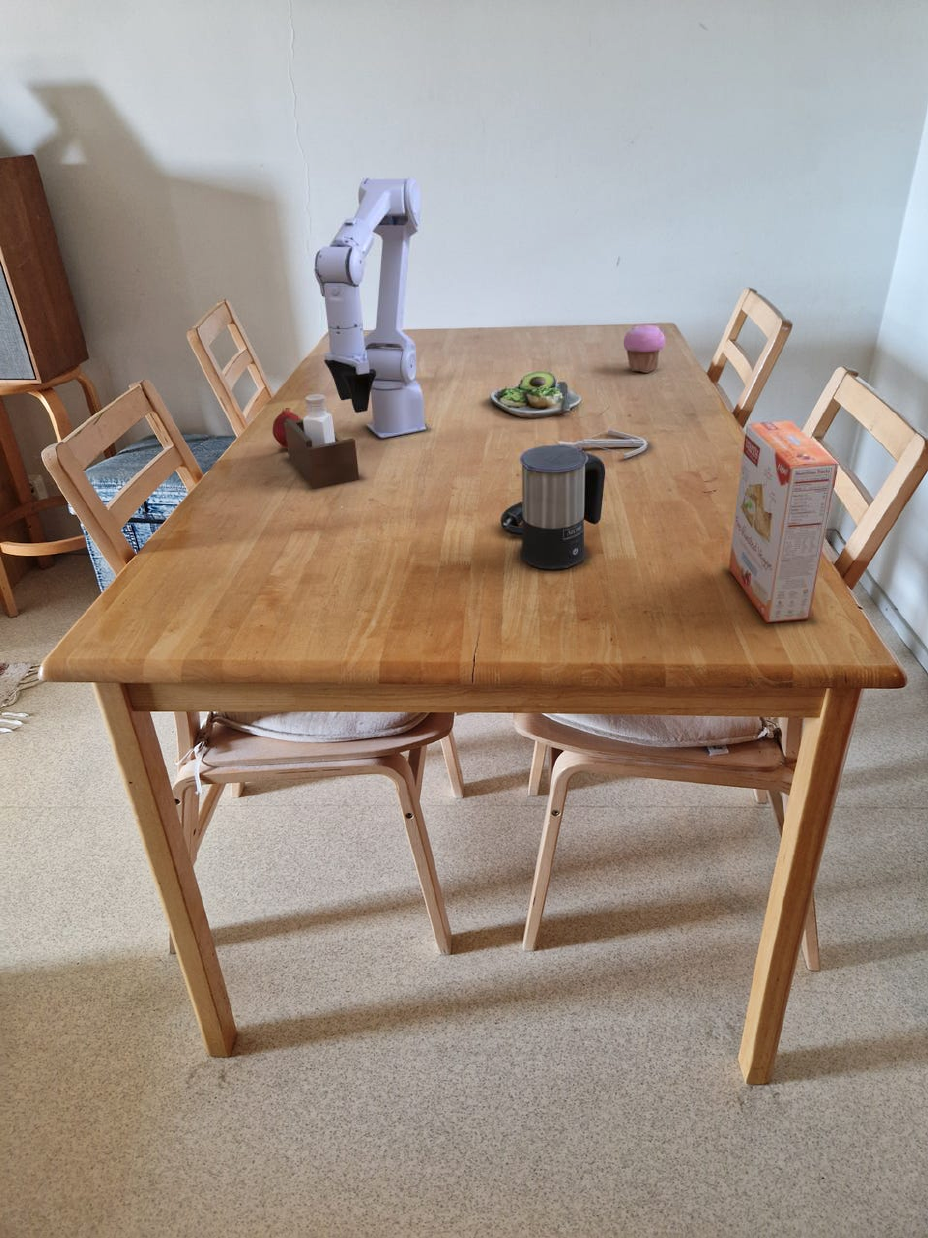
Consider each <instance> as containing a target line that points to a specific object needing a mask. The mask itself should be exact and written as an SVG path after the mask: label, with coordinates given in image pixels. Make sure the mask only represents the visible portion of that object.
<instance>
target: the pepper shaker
mask: <svg viewBox="0 0 928 1238" xmlns="http://www.w3.org/2000/svg"><path fill="white" fill-rule="evenodd" d="M305 405H306V410H307V414H306V415H305V416H304V417H303V418H302V419H303V424H304V431H305V434H306V435H307V436H308V437H309V438H310V439H311V440H312V446H316V445H321V444H326V443H331V442H335V437H334V432H335V430H334V429H335V428H334V420H333V415H332V414H331V413H329V412H327V409H326V408H327V404H326V397H325V395H324V394H321V393H313V394H309V395H307V396H305Z"/></svg>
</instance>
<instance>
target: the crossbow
mask: <svg viewBox="0 0 928 1238" xmlns="http://www.w3.org/2000/svg"><path fill="white" fill-rule="evenodd" d="M605 432H607V434H609V435H612V436H616V437H621V438H624V439H593V437H597V436H599V435H602V434H604V433H605ZM557 445H565V446H570V447H575V448H577V449H580V450H584V448H587V447H588V448H594V447H595V448H596V447H597V448H600V449H604V450H606V451H607V450H608V451H610V452H614V453H617V454H620V455H623V456H622V459H623V460H626V459H628V458H630V457H634V456H636V455H639V454H640V453H642V452H643V451H646V449H647V448H648V442H647V440H646V439H643V438H642V437H639V436H636V435H633V434H629V433H626V432H622V431H617V430H614V429H611V428H609V429H607V430H604V431H603V432H600V433H598V434H595V435H593V436H590V437H589V438H584V439H580V440H576V441H574V442H571V441H561V440H560V441H559V440H557ZM626 447H627V448H636V449H634V450H632V451H630V452H627V453H622V452H618V451H616V450H612V449H609V448H626Z"/></svg>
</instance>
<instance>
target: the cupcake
mask: <svg viewBox="0 0 928 1238" xmlns="http://www.w3.org/2000/svg"><path fill="white" fill-rule="evenodd" d="M664 334H665V333H664V332H663V331H662V330H660V328H659V326H657V325H652V324H643V325H636V326H634V327H633V328H631V329H629V330H628V331H627V332H626V334H625V336H624V338H623V347H624V350H625V351H626V354H627V359H628V365H629V367H630V369H631V370H632V371H633V372H640V373H643V374H646V373H647V374H648V373H650V372H652V371H654V370H656V368H657V367H658V363H659V355H660V351H661V350H662V349H663V348H664V347H665V346H666V336H665V335H664Z"/></svg>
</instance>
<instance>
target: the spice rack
mask: <svg viewBox="0 0 928 1238" xmlns="http://www.w3.org/2000/svg"><path fill="white" fill-rule="evenodd" d="M303 419H304V418H301V420H296V421H293V420H292V419H291V418H289V419H285V421H286V422H285V423H284V424H285V431H286V438H287V445H288V448H287V451H288V457H289V461H290V462H291V464H292V465H293V466H294V467H295V468H296V469H297V470H298V471H299V473H300V474H301V475H302V476H303V478H304V479H305V480H306V481H307V482H308V484H309V485H310V486H311V487H312V488H313V489H314V490H316V489H320V488H326V487H330V486H335V485H340V484H344V483H348V482H354V481H357V480H358V481H359V480H360V475H359V474H360V473H359V466H358V465H359V464H358V455H357V447H356V445H357V444H356V440H355V439H354V438H348V439H343V438H342V437H341V436H340V435H339V434H338V433H337V432H336V431H334V437H335V442H331V443H326V444H321V445H316V446H312V440H311V439H310V438H309V437H308V436H307V435H306V434H305V431H304V424H303Z"/></svg>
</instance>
